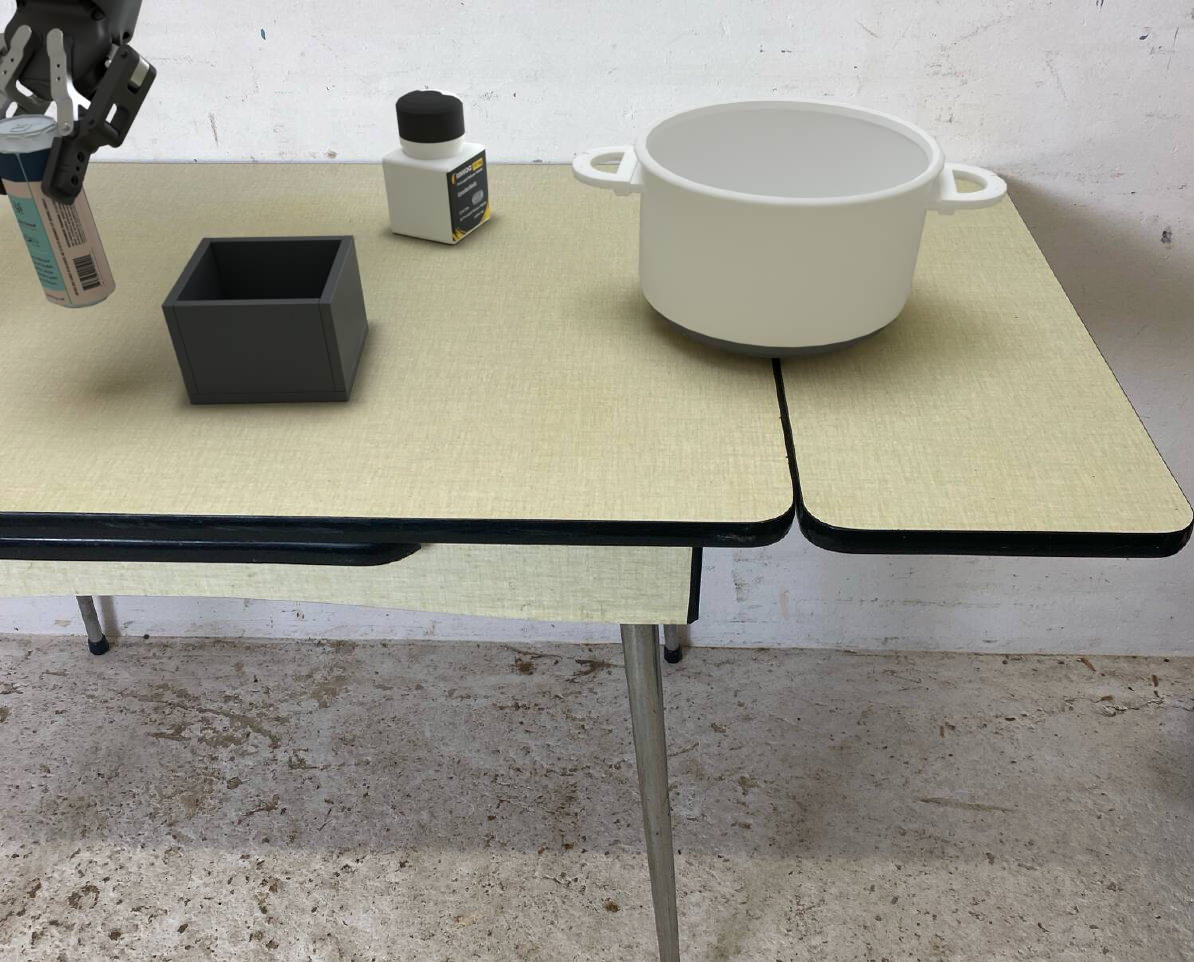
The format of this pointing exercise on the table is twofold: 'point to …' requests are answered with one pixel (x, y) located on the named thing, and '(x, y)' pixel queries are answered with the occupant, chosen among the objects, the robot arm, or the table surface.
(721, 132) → the pot
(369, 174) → the table surface
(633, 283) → the table surface
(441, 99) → the medicine bottle
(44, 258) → the beer can
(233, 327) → the bin
